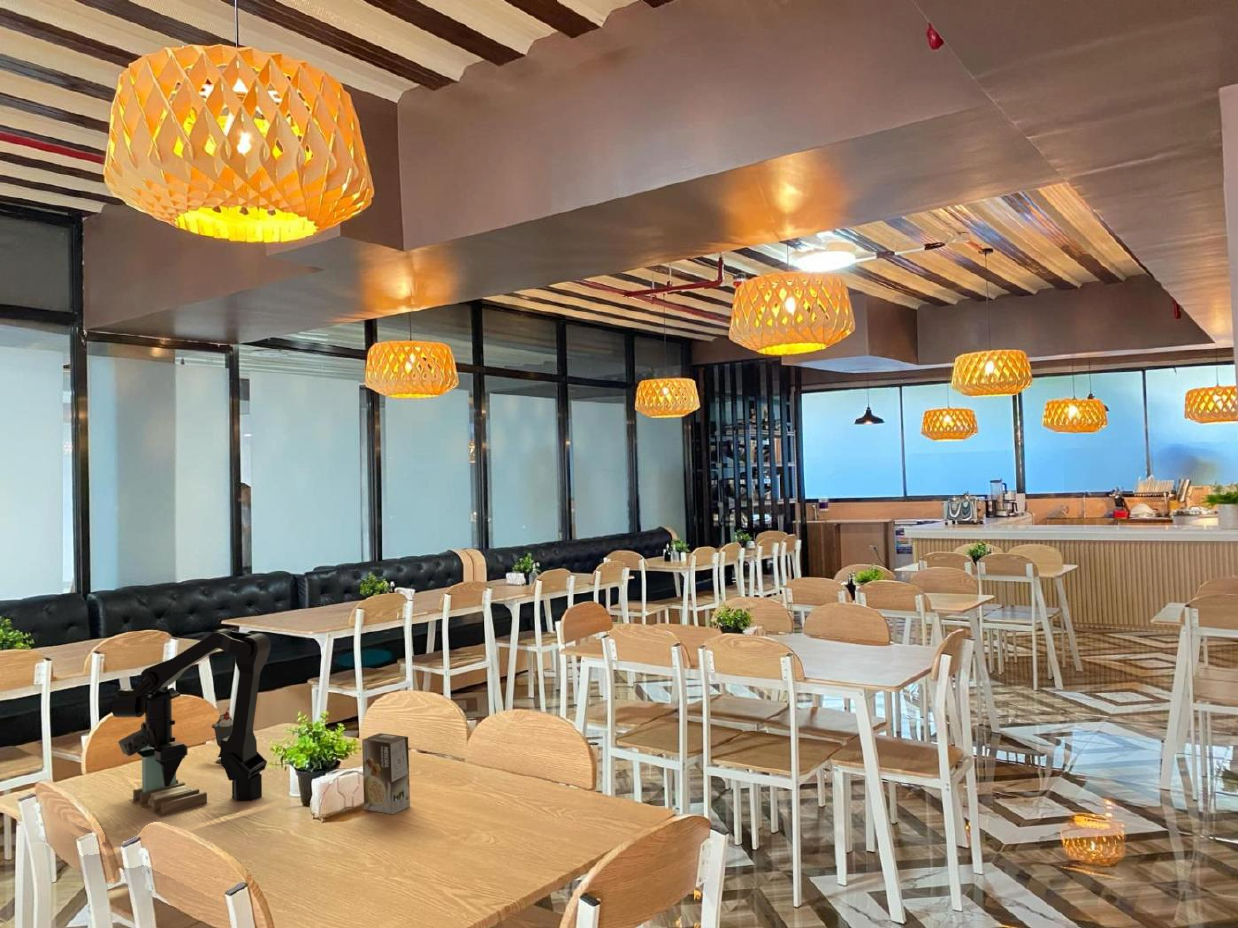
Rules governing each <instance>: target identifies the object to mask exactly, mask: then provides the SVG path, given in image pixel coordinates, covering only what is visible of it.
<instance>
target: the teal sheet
mask: <svg viewBox="0 0 1238 928" xmlns="http://www.w3.org/2000/svg"><path fill="white" fill-rule="evenodd" d="M155 760H156V757H155V755H153V756H148V757H144V758H142V757H141V779H142V780H141V781H142V782H141V788H142V793H143V792H147V791H151V790H155V789H159V788H163V787H166V786H165V785H164V781H163V775H162V768H161V765H160V764H159V763H157V762H156V761H155ZM176 779H177V772H176V773H175V775H174V777H173V779H172V782H171V784H170V785H174V784H176ZM170 785H169V786H170Z"/></svg>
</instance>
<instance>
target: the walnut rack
mask: <svg viewBox="0 0 1238 928" xmlns="http://www.w3.org/2000/svg"><path fill="white" fill-rule="evenodd" d="M184 785H185V786H186V782H184V781H183V782H179V779H177V778H176V784H174V785H170V786H166V787H163V788H159V789H155V790H151V791H147V792H143V793H142V787H140V788H136V789H133V790H132V793H133V794H132V798H131V799H129V801H130V802H132V803H133V804H136V806H137V805H138V806H139V807H142V808H143V809H145V810H147V811H148V812H151V813H153V814H155V815H157V816H159V817H161V818H162V819H164V818H169V817H171V816H176V815H179V814H182V813H185V812H189V811H193V810H197V809H200V808H204V807H208V806H211V805H212V803H210V802H209V801H208V793H207V792H206V791H203V792H200V789H199V788H195V789H191V790H190V791H186V792H182V793H179V794H175V795H171V796H167V797H163V798H160V799H156V800H153V801H154V807H152V806H150V805H148V801H149V798H151V793H155V792H159V791H163V790H168V789H172V788H176V787H180V786H184Z"/></svg>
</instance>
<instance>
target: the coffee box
mask: <svg viewBox="0 0 1238 928" xmlns="http://www.w3.org/2000/svg"><path fill="white" fill-rule="evenodd" d="M361 744H362V745H361V746H362V749H361V750H362V780H363V781H362V783H363V786H362V787H363V809H364V810H367V811H372V812H378V813H384V814H389V815H395V814H396V813H398V812H399V813H400V812H401V811H403V810H405V809H407V808H409V807H410V806H411V792H410V758H409V736H405V735H398V734H388V733H381V732H380V733H376V734H373V735H371V736H368V737H366V738H363V739H362V740H361Z"/></svg>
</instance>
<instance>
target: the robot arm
mask: <svg viewBox="0 0 1238 928" xmlns="http://www.w3.org/2000/svg"><path fill="white" fill-rule="evenodd" d="M271 642H272V641H271V640H270V639H269V637H268V636H267V635H266V634H264V633H262V632H261V633H254V634H253V633H249V632H241V631H233V630H230V629H227V628H221V629H218V630H215V631H213V632H211V633H210V634H209V635H208V636H206V637H205V638H203V639H201V640H200V641H198V642H197V643H195V644H193V645H191V646H190V647H188V648H187V649H185V650H183V651H181V652H180V653H178V654H177V655H176V656H174V657H173V658H169V659H167V660H165V661H162V662H160V663H157V664H154V665H151V666H149V667H147V668H144V669H143V670H142V671H141V673H140V679H139V681H138V683H137V684H136V685H135V687H134V688H132V689H131V688H121V689H117V692H116V696H115V697H114V699H113V701H112V705H111V714H112V715H113V717H114V718H117V719H118V718H141V717H144V715H145V718H144V720H145V721H142V723H141V724H140V729H139V730H137V731H135V732H133V733H131V734H129V735H127V736H125V737H123V738H121V739H120V740H118V745H119V748H120V749H121V752H122V754H123V755H126V756H127V757H130V756H133V755H135V754H137V755H139V757H141V759H142V758H144V757H148V756H153V755H155V757H156V760H155V761H156V762H157V763H159V764H160V765H161V768H162V775H163V781H164V785H165V786H169V785H170V784H171V782H172V779H173V777H174V775H175V773H176V774H177V771H178V769H179V767H180V765H181V763H182V762H183V760H184V759H185V758H186V756H187V755H188V747H189V746H187V745H186V744H185V743H182V742H179V741H176V737H175V736H173V726H174V725H176V720H175V719H173V708H172V703H173V702H172V700H173V699H176V698H178V697H181V693H180V692H179V691H177V690H176V689H175V688H174V687H170V688H167V689H166V690H160V689H163V688H165V687H168V686H171V685H173V684H174V683H175V682H176V681H177V680H178V679H180V677H181V676H182V675H183V674H184V673H185V672H186V671H187V670H188V669H189V668H190V667H192V666H194V665H195V664H197V663H198V662H200V661H202V660H204V659H205V658H206V657H209V656H210V655H212V654H213V653H215V652H216V651H218V650H221V651H223V652H225V653H227V654H229V655H234V660H235V662H234V663H235V665H236V667H237V669H238V680H237V688H236V693H235V694H236V695H235V703H234V704H235V705H234V710H233V712H234V713H233V718H232V720H233V725H232V731H231V734H230V736H228V737H226V738H224V739H222V740H221V743H220V747H219V748H220V750H219V754H218V756H217V757H218V758H219V759H220V763H219V764H220V766H221V767H222V768H223V769H224V770H225V773H226V776H227V779H228V780H229V781H231V790H232V791H231V796H232V799H234V801H236V802H247V801H248V802H252V801H255V800H258V799H260V798H262V797H263V788H262V787H263V781H262V776H263V775H262V774H261V772H262V771H265V770H266V767H267V764H268V762H267V760H266V759H265V758H264V757H263V756H262V755H261V754H260V752H258V745H257V742H258V741H257V738H256V736H255V733H254V725H255V724H254V722H255V716H256V708H257V701H258V693H259V684H260V677H261V672H262V671H263V668H264V667H265V665H266V662H267V661H268V658H269V656H270V655H269V654H270V652H271V648H272V643H271ZM151 692H153V693H152V694H149V693H151Z"/></svg>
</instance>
